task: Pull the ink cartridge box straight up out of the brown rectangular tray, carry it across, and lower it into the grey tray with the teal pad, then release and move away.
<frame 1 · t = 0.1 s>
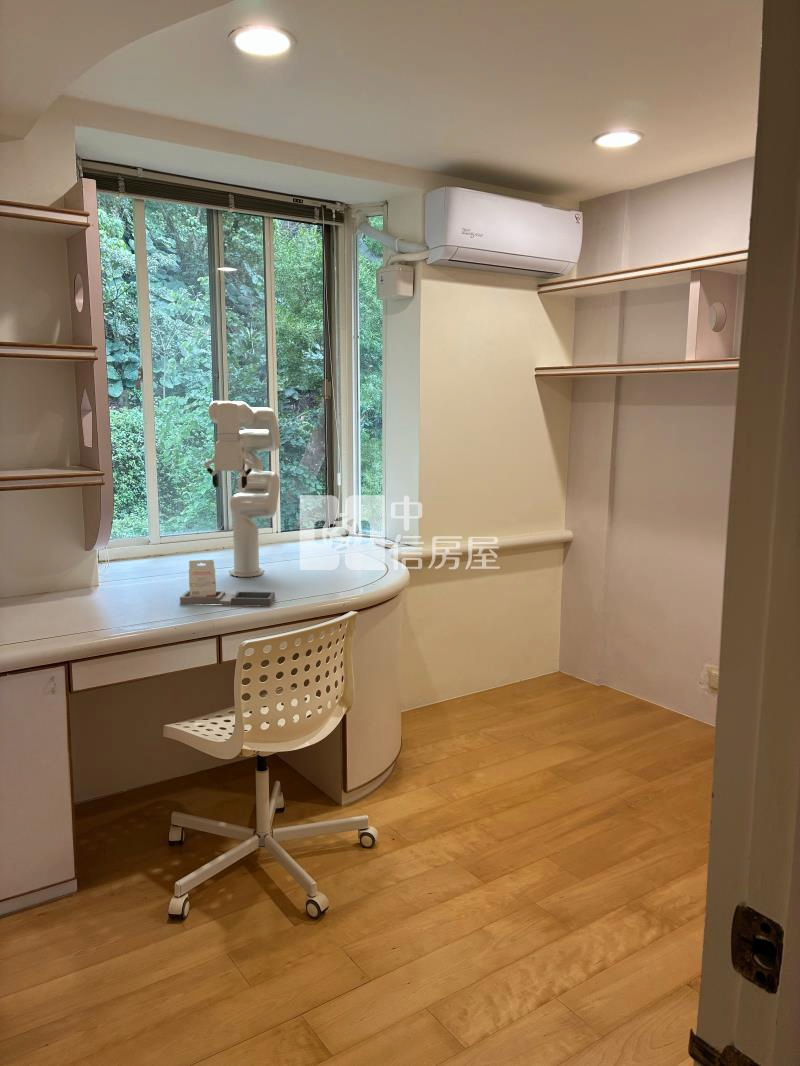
hand: (229, 487, 277), 37 cm above the table, tool pointing down, fingers open, 9 cm apart
grey tray: (253, 602, 267), on the table
ink cartridge box: (203, 602, 267), resting in brown rectangular tray
brown rectangular tray: (203, 601, 267), on the table
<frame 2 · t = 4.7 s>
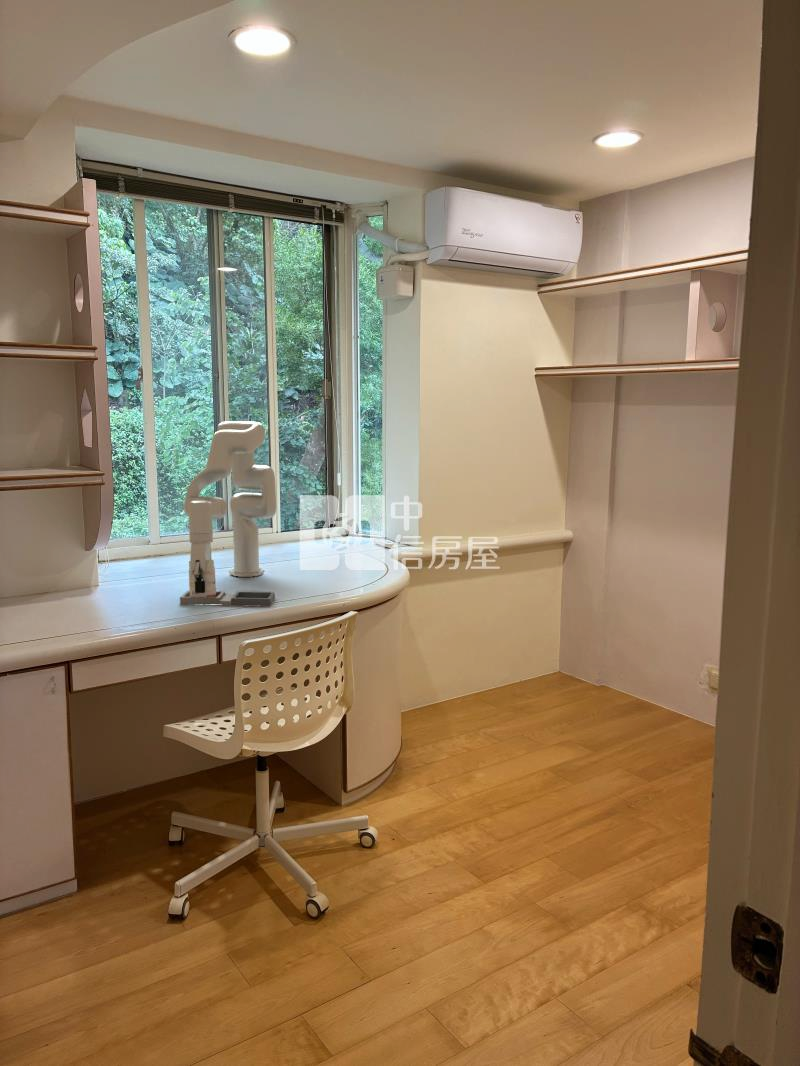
hand: (202, 589, 267), 4 cm above the table, tool pointing down, fingers closed on ink cartridge box, 5 cm apart
ink cartridge box: (203, 601, 267), resting in brown rectangular tray, touching gripper
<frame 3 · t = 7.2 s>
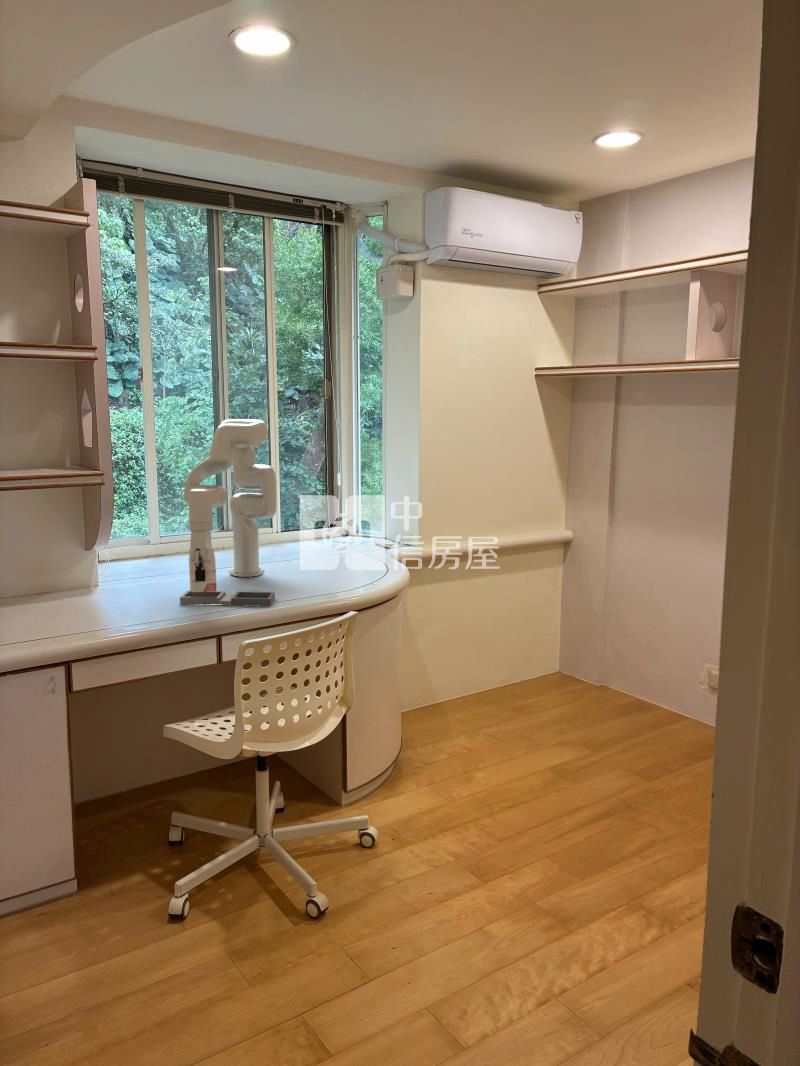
hand: (203, 578, 266), 8 cm above the table, tool pointing down, fingers closed on ink cartridge box, 5 cm apart
ink cartridge box: (203, 590, 267), point 4 cm above the table, touching gripper
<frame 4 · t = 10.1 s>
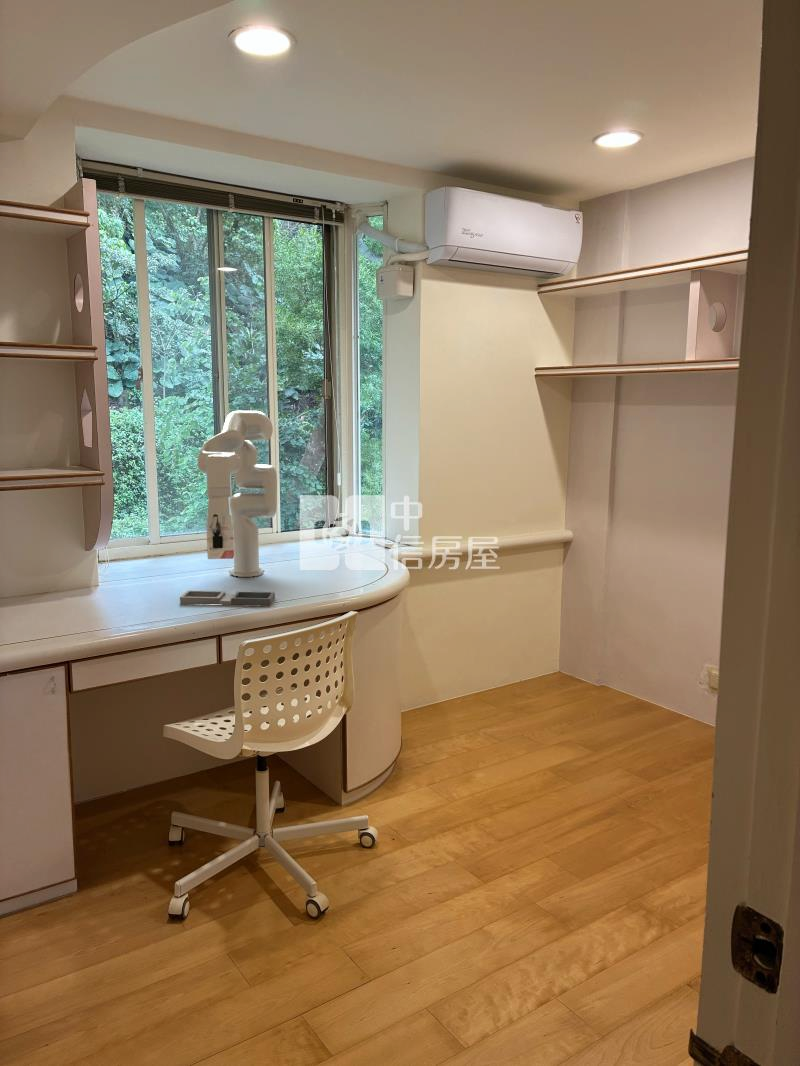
hand: (220, 545, 264), 19 cm above the table, tool pointing down, fingers closed on ink cartridge box, 5 cm apart
ink cartridge box: (220, 558, 265), point 15 cm above the table, touching gripper
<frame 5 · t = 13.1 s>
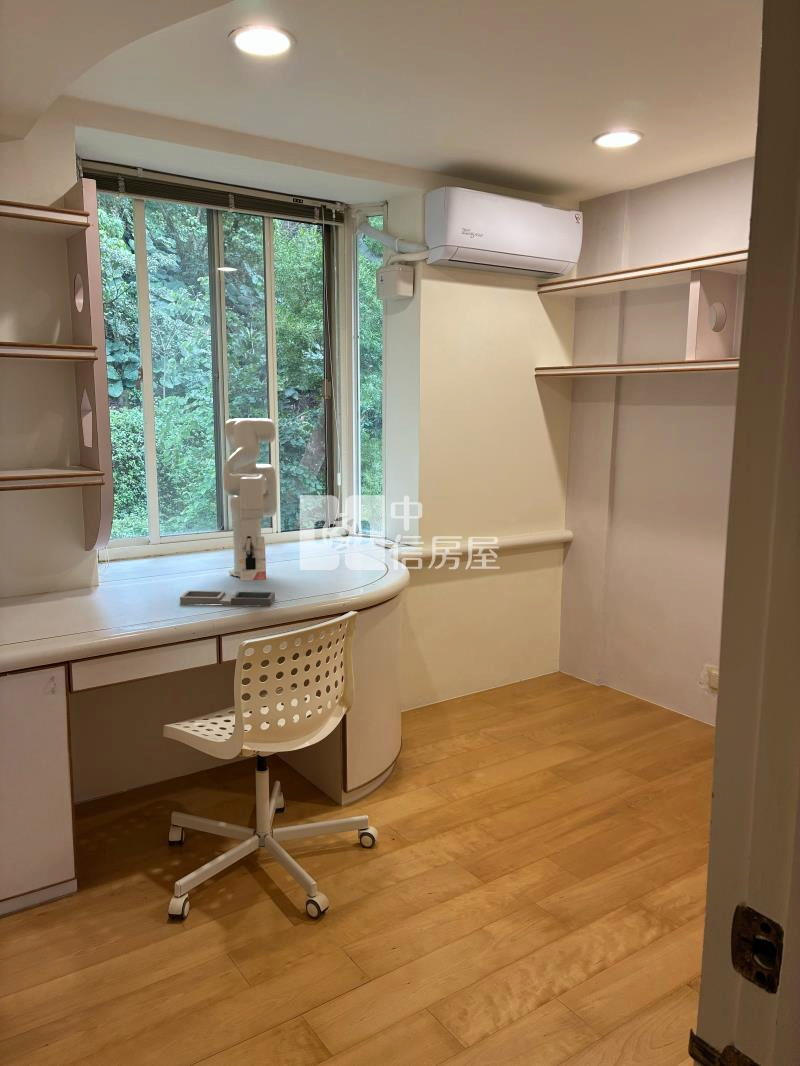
hand: (252, 566, 265), 12 cm above the table, tool pointing down, fingers closed on ink cartridge box, 5 cm apart
ink cartridge box: (253, 579, 266), point 8 cm above the table, touching gripper
when the fingers open (6 cm above the table, at t = 15.7 s): ink cartridge box drops 1 cm, resting on grey tray.
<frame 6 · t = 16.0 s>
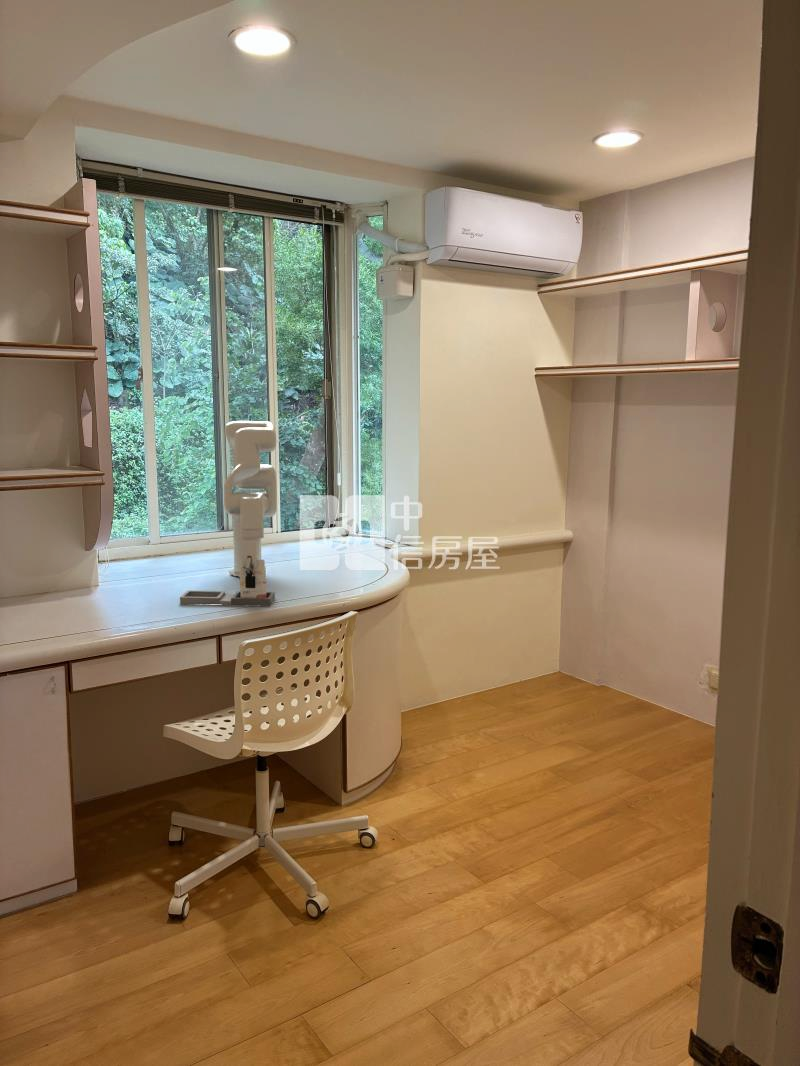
hand: (253, 584, 266), 6 cm above the table, tool pointing down, fingers open, 7 cm apart
ink cartridge box: (253, 601, 267), resting on grey tray
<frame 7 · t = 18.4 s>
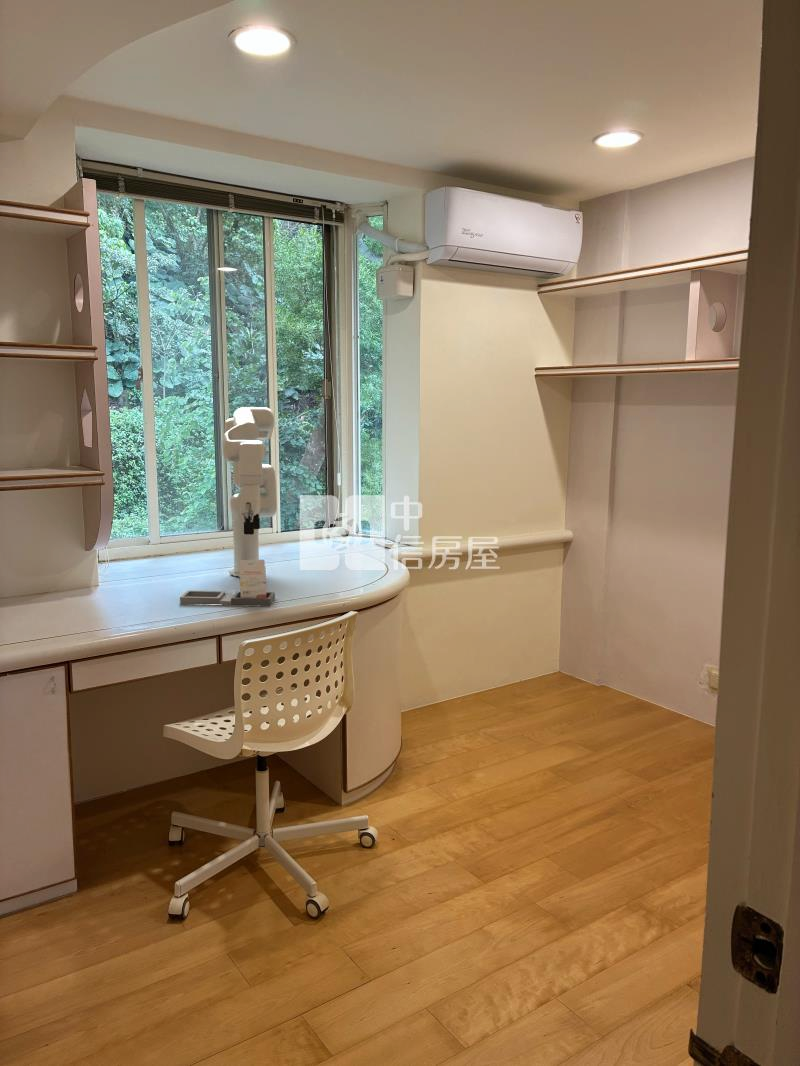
hand: (252, 531, 263), 24 cm above the table, tool pointing down, fingers open, 9 cm apart
nothing on the table moved.
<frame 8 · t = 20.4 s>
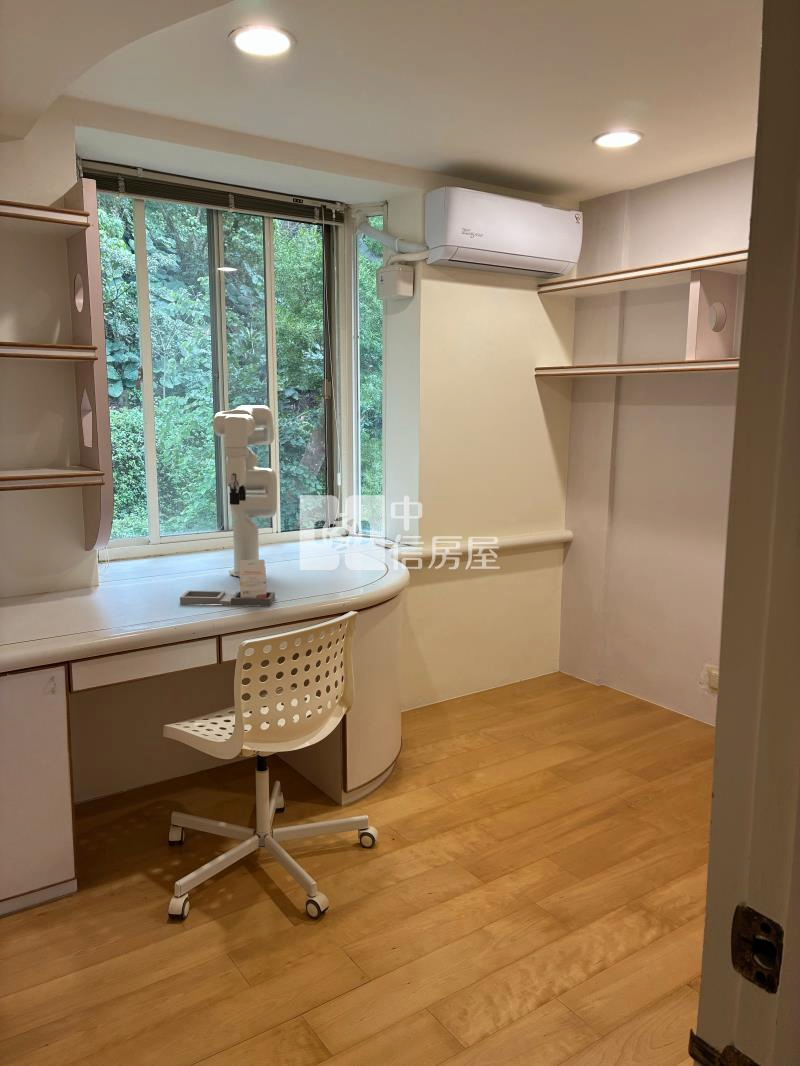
hand: (237, 502, 272), 32 cm above the table, tool pointing down, fingers open, 9 cm apart
nothing on the table moved.
at the end: ink cartridge box 0.5 cm off-centre on the grey tray, point 0.1 cm above the grey tray's base; ink cartridge box tilted 0°; the gripper is holding nothing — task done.
